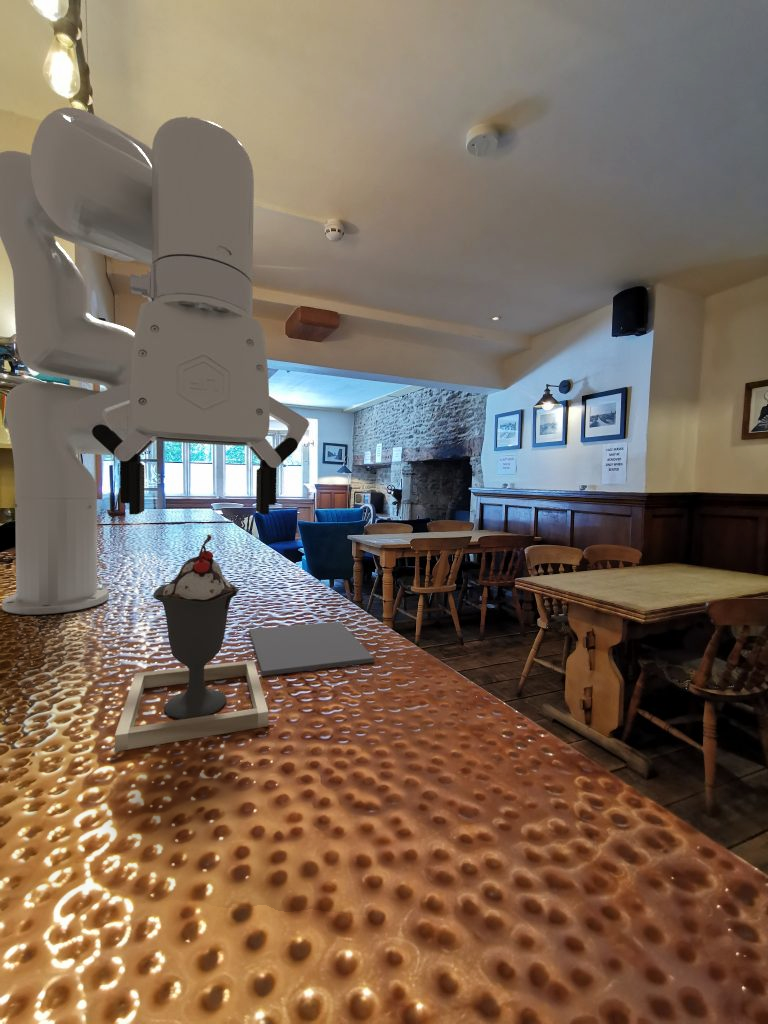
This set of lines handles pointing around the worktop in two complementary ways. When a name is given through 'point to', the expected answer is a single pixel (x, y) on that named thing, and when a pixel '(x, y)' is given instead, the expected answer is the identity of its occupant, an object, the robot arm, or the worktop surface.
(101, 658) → the worktop surface
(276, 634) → the bar mat
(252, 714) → the frame
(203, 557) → the sundae
